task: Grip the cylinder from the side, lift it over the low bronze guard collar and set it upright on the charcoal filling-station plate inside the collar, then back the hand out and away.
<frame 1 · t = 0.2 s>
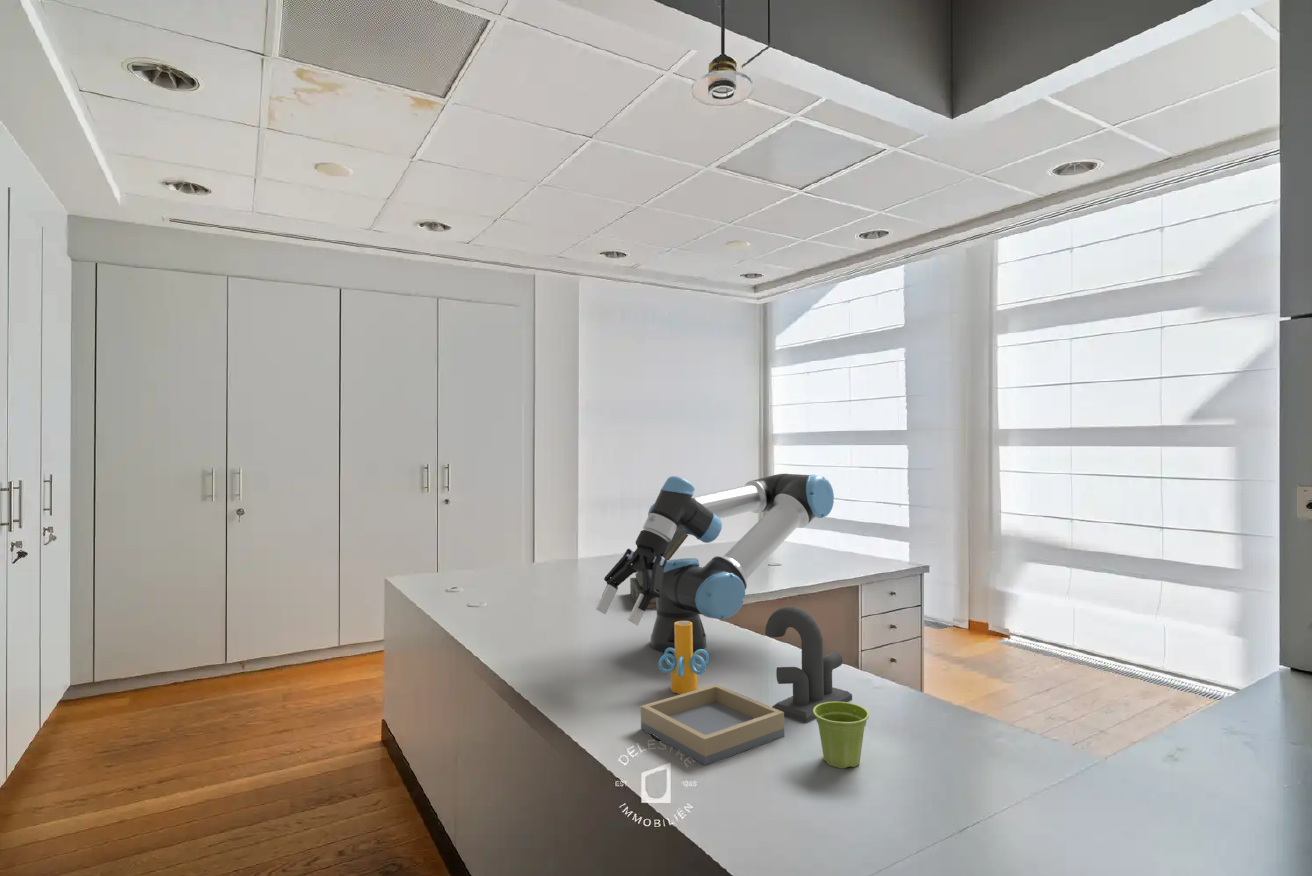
hand: (616, 617, 168), 15 cm above the worktop, tool tilted 35°, fingers open, 13 cm apart
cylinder: (684, 691, 161), on the worktop
faucet: (798, 702, 154), on the worktop
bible: (661, 601, 248), on the worktop
plant pot: (841, 762, 126), on the worktop
fill station: (711, 732, 138), on the worktop
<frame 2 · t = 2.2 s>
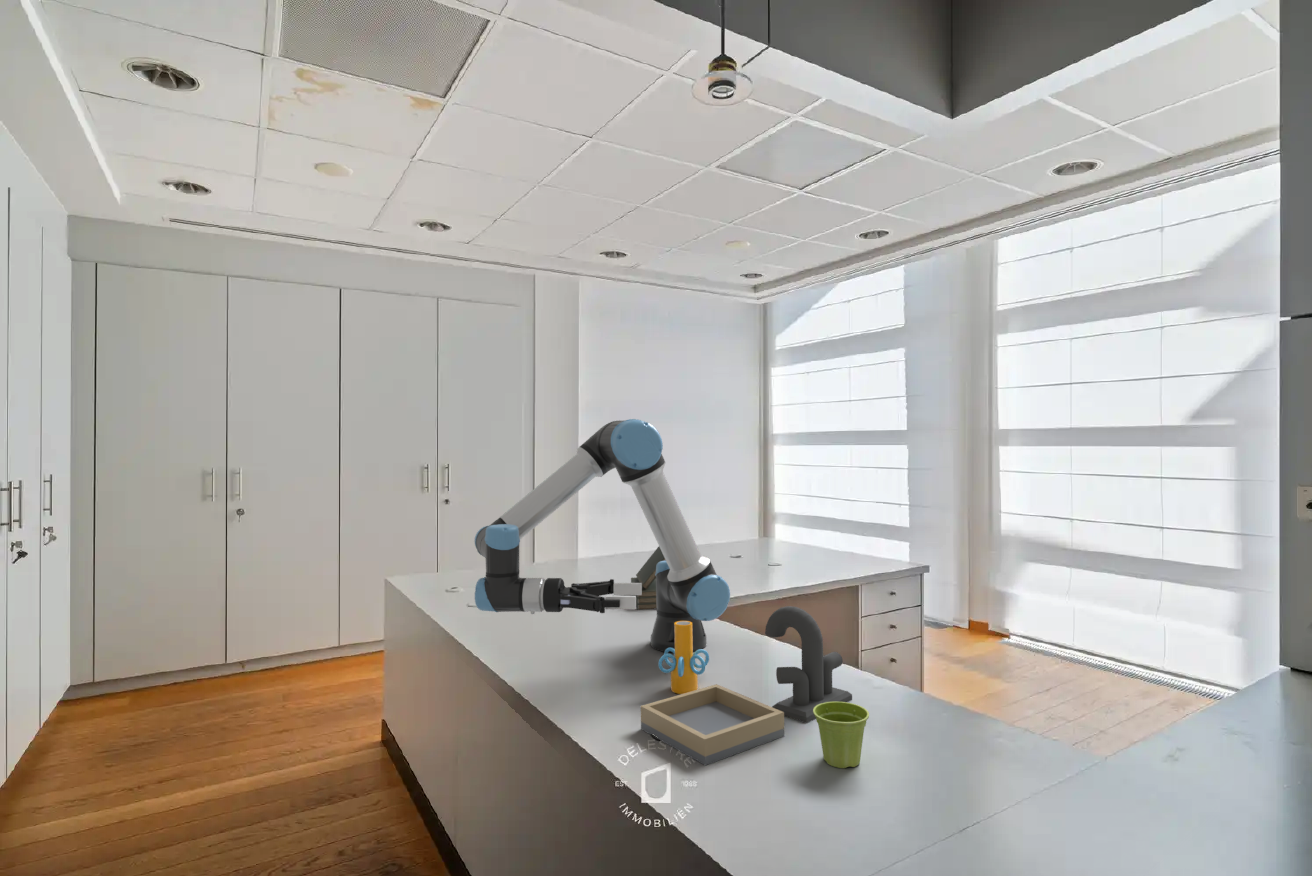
hand: (639, 595, 162), 21 cm above the worktop, tool horizontal, fingers open, 13 cm apart
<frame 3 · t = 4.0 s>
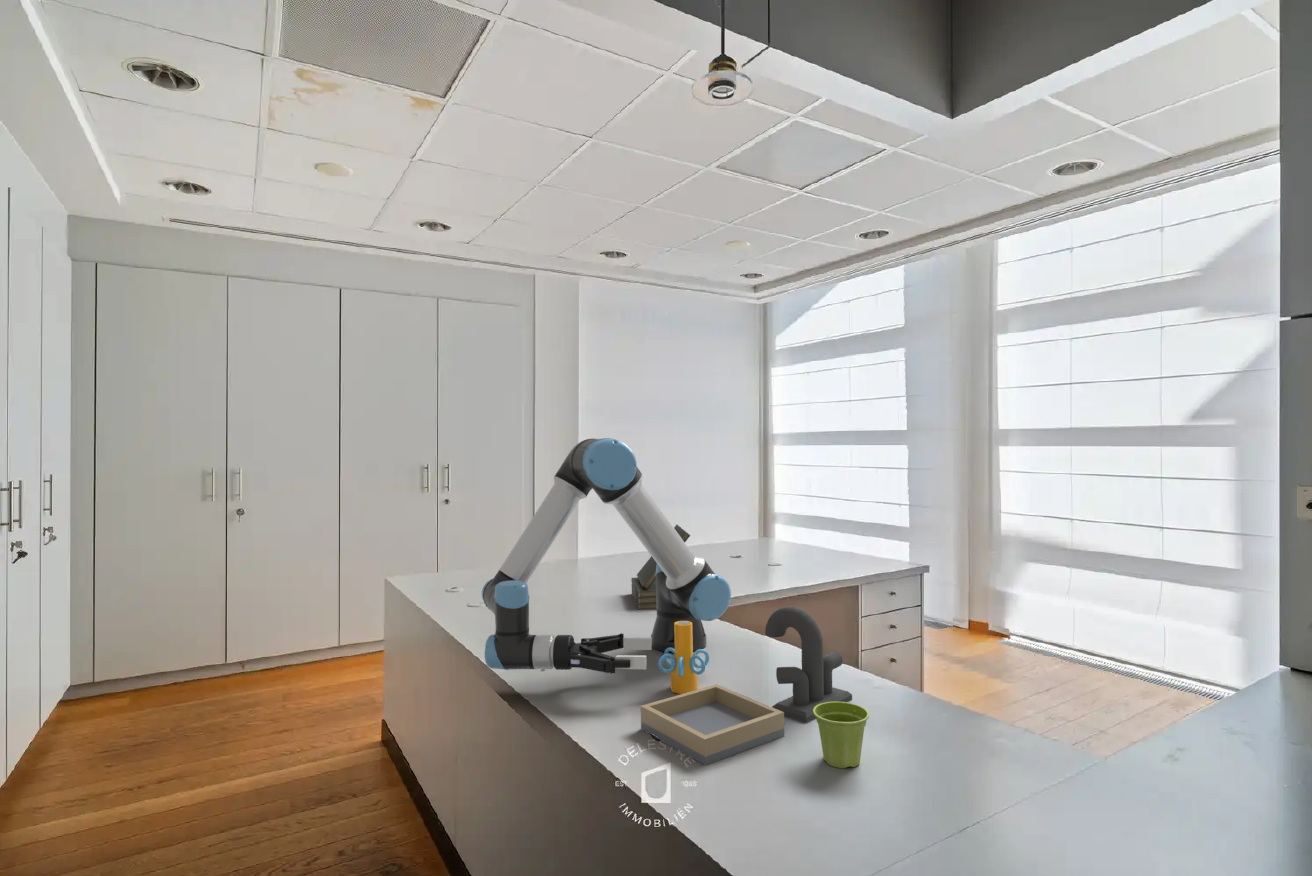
hand: (649, 652, 161), 8 cm above the worktop, tool horizontal, fingers open, 13 cm apart
nothing on the worktop moved.
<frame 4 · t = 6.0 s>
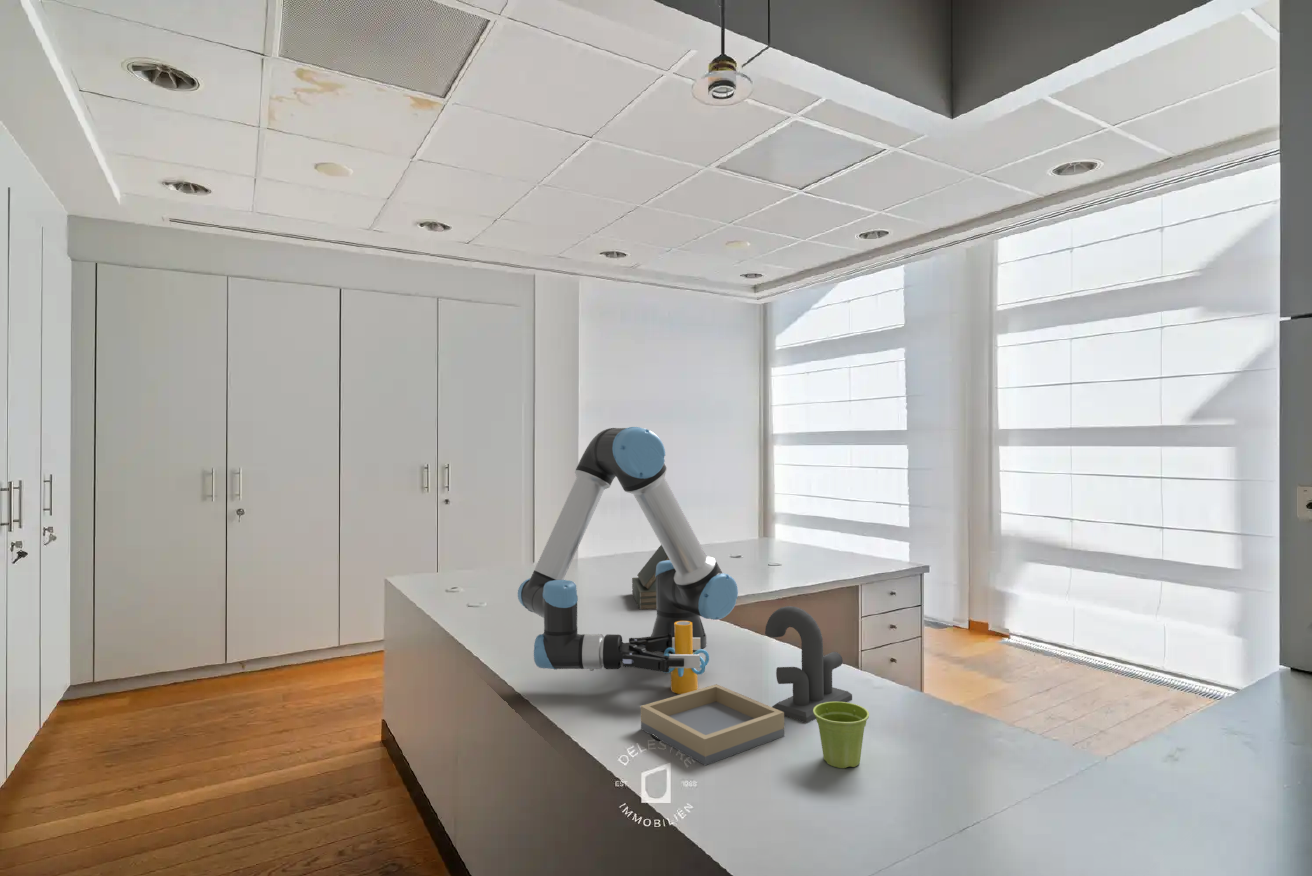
hand: (700, 652, 161), 8 cm above the worktop, tool horizontal, fingers closed on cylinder, 12 cm apart
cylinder: (684, 691, 161), on the worktop, touching gripper
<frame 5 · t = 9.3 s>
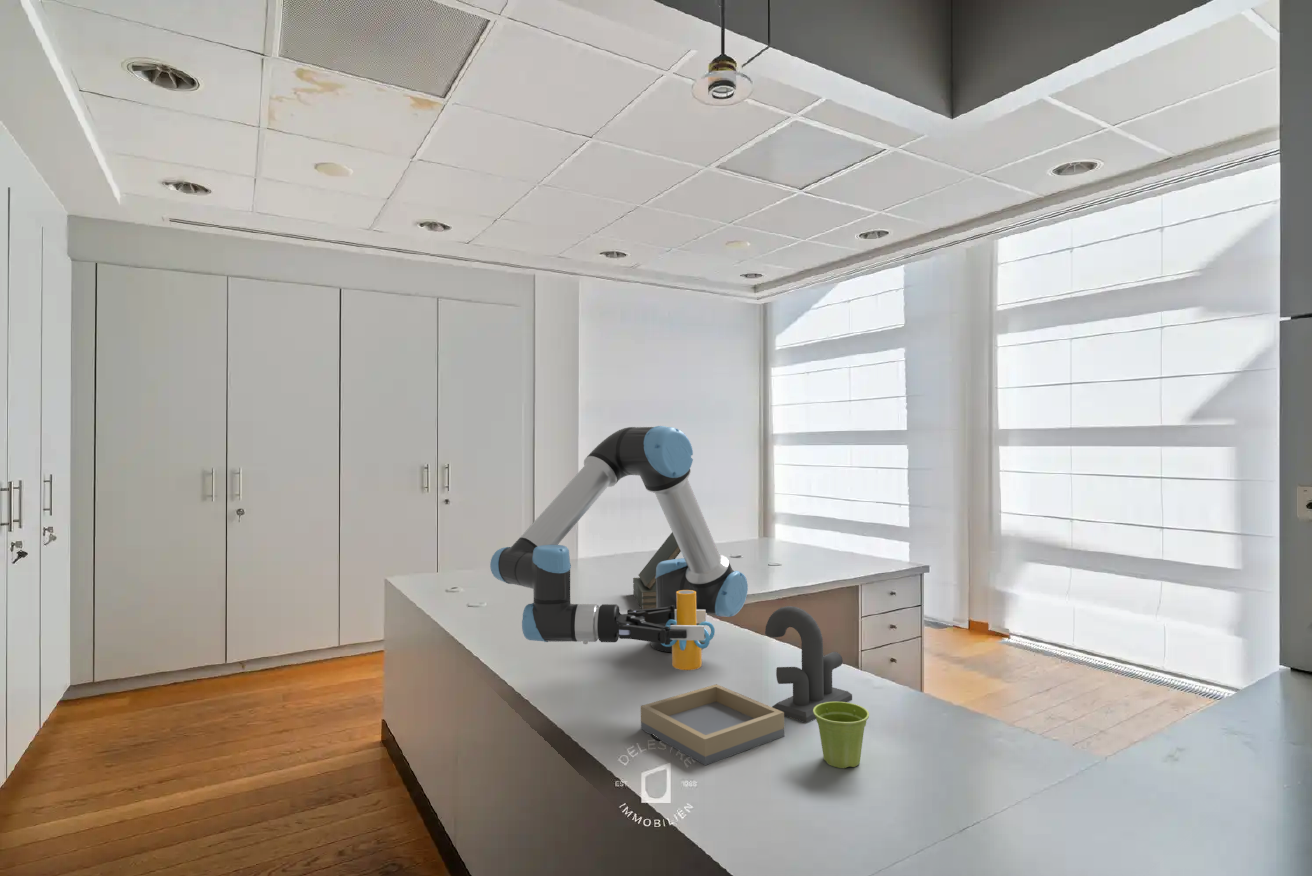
hand: (705, 624, 146), 19 cm above the worktop, tool horizontal, fingers closed on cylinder, 12 cm apart
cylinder: (687, 667, 146), point 10 cm above the worktop, touching gripper
when the fingers open (11 cm above the worktop, at t = 12.6 s): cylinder drops 1 cm, resting on fill station.
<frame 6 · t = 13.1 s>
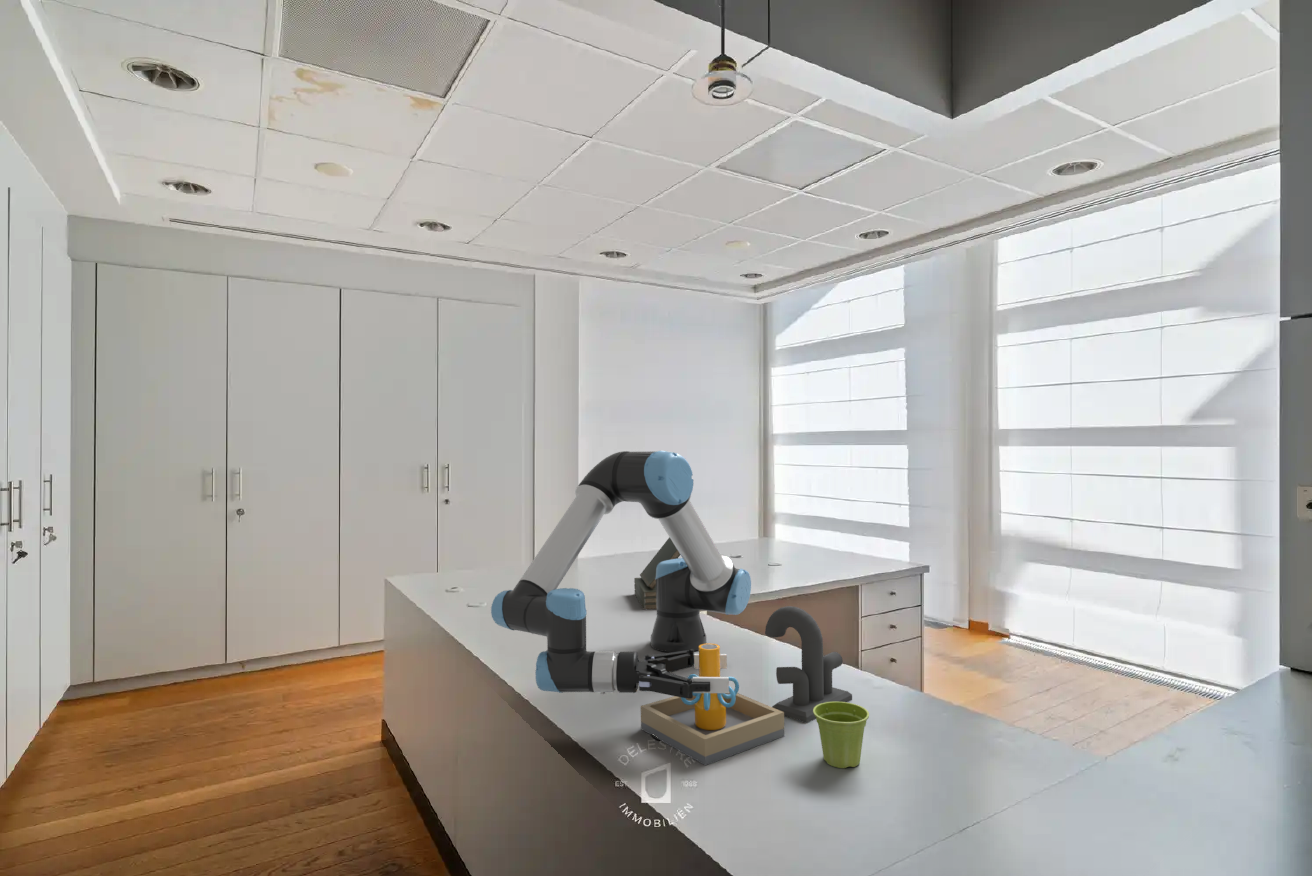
hand: (728, 672, 138), 11 cm above the worktop, tool horizontal, fingers open, 13 cm apart
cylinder: (710, 725, 138), point 1 cm above the worktop, touching fill station
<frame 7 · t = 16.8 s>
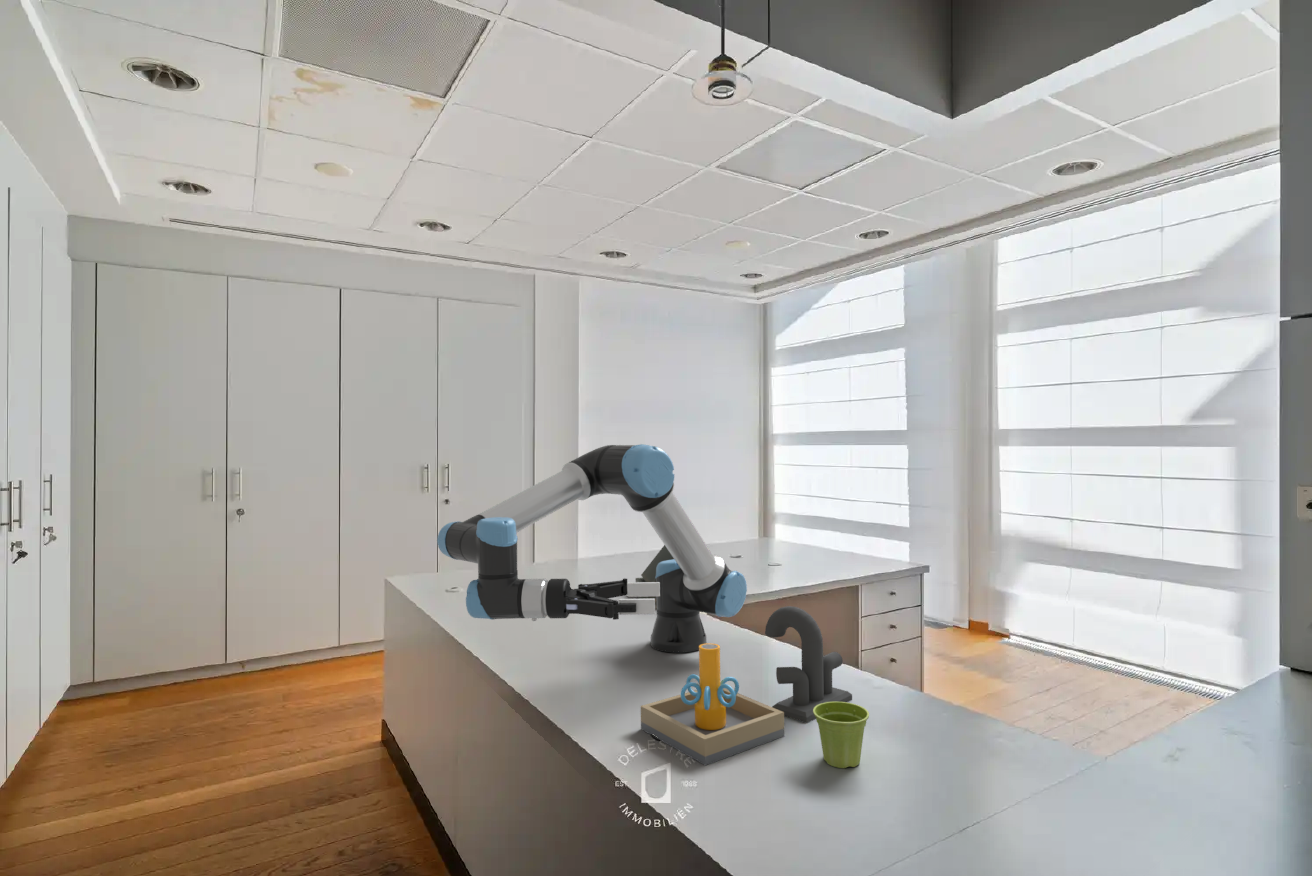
hand: (657, 597, 139), 26 cm above the worktop, tool horizontal, fingers open, 13 cm apart
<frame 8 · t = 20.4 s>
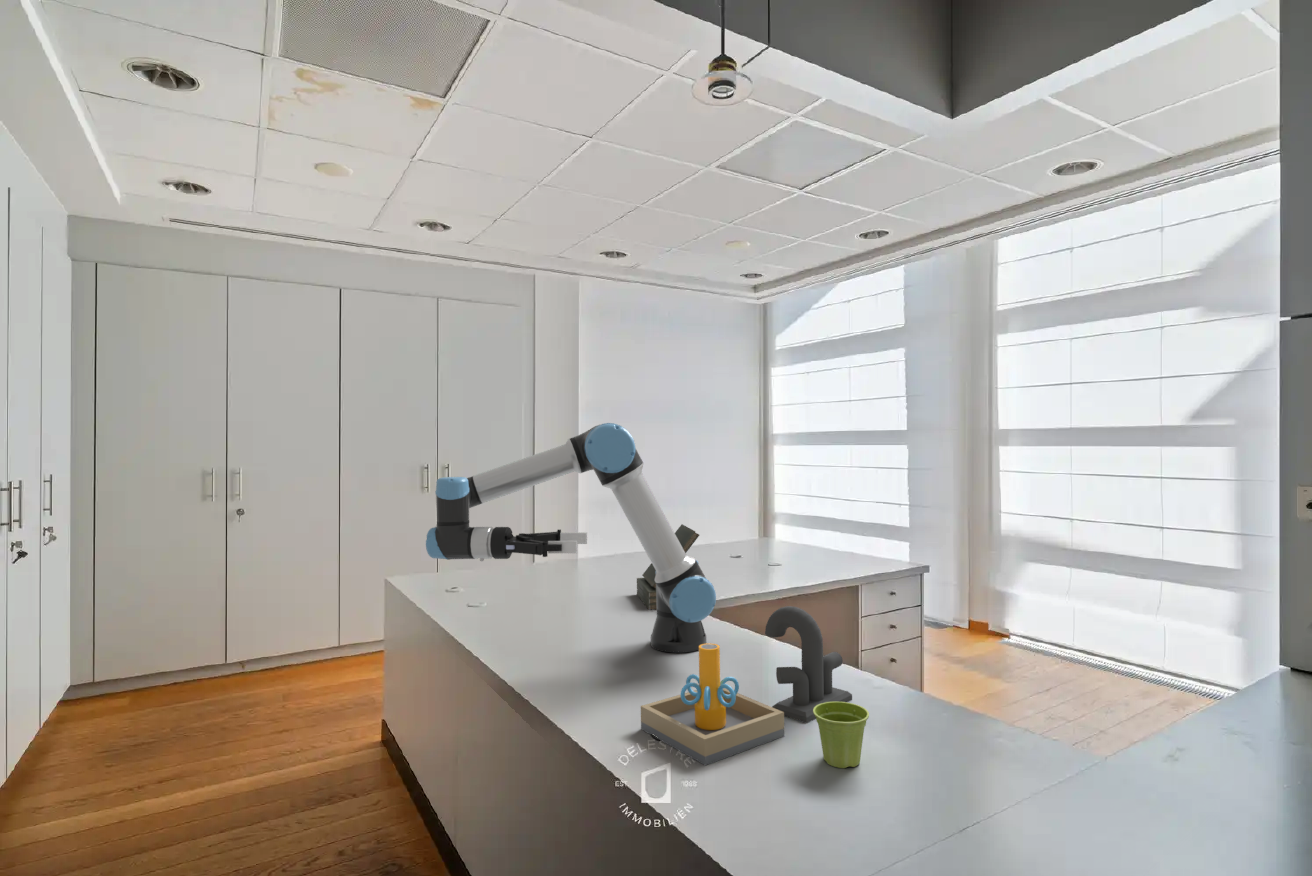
hand: (582, 542, 170), 32 cm above the worktop, tool horizontal, fingers open, 13 cm apart
at the end: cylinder inside the target area on the fill station (0.1 cm from its centre), point 1.3 cm above the fill station's base; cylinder tilted 0°; the gripper is holding nothing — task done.
